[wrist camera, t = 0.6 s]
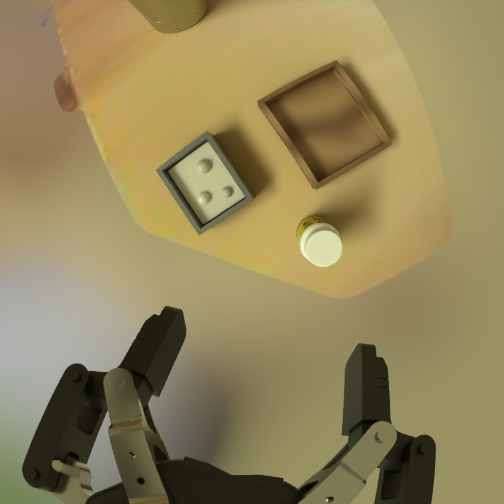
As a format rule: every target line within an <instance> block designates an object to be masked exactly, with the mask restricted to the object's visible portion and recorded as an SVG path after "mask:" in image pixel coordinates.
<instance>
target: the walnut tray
mask: <svg viewBox="0 0 504 504" xmlns="http://www.w3.org/2000/svg"><path fill="white" fill-rule="evenodd" d="M257 102H258V107H259V108H260V109H261V111H262V112H263V113H264V115H265V116H266V118H267V119H268V120H269V122H270V123H271V125H272V126H273V127H274V129H275V130H276V132H277V133H278V135H279V136H280V138H281V139H282V141H283V142H284V143H285V145H286V146H287V148H288V149H289V151H290V152H291V154H292V156H293V157H294V159H295V160H296V162H297V163H298V165H299V166H300V168H301V169H302V171H303V173H304V174H305V176H306V177H307V179H308V181H309V182H310V184H311V185H312V187H313V189H316V190H317V189H318V188H320V187H322V186H323V185H325V184H327V183H328V182H330V181H332V180H333V179H335V178H337V177H338V176H340V175H342V174H343V173H345V172H347V171H348V170H350V169H352V168H353V167H355V166H357V165H358V164H360V163H362V162H363V161H365V160H367V159H368V158H370V157H372V156H374V155H375V154H377V153H379V152H380V151H382V150H384V149H385V148H387V147H389V146H391V145H392V143H391V141H390V139H389V137H388V136H387V134H386V132H385V130H384V129H383V127H382V125H381V124H380V122H379V120H378V119H377V117H376V116H375V114H374V112H373V111H372V109H371V108H370V106H369V105H368V103H367V102H366V100H365V99H364V97H363V96H362V94H361V93H360V91H359V90H358V89H357V87H356V86H355V84H354V83H353V82H352V80H351V79H350V77H349V76H348V75H347V73H346V72H345V71H344V69H343V68H342V67H341V66H340V64H339V63H338V62H337V61H334V62H331V63H329V64H327V65H325V66H323V67H321V68H319V69H316V70H314V71H312V72H310V73H308V74H306V75H304V76H302V77H300V78H298V79H296V80H294V81H293V82H291V83H289V84H287V85H285V86H283V87H281V88H280V89H278V90H276V91H274V92H272V93H271V94H269V95H267V96H265V97H264V98H262V99H260V100H259V101H257Z"/></svg>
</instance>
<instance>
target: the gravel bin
mask: <svg viewBox="0 0 504 504" xmlns="http://www.w3.org/2000/svg"><path fill="white" fill-rule="evenodd" d="M156 171H157V173H158V174H159V176H160V177H161V179H162V180H163V182H164V183H165V185H166V186H167V188H168V190H169V191H170V193H171V194H172V196H173V197H174V199H175V200H176V202H177V203H178V205H179V206H180V208H181V209H182V211H183V212H184V214H185V215H186V217H187V218H188V220H189V221H190V223H191V224H192V226H193V227H194V229H195V230H196V232H197V233H198V234H199V235H201V234H202V233H204V232H205V231H207V230H208V229H210V228H211V227H213V226H214V225H215V224H217V223H218V222H220V221H222V220H223V219H225V218H226V217H228V216H229V215H231V214H232V213H234V212H235V211H237V210H238V209H240V208H241V207H243V206H244V205H246V204H247V203H249V202H251V201H252V200H254V198H255V196H254V194H253V193H252V191H251V190H250V188H249V187H248V185H247V184H246V182H245V181H244V179H243V178H242V176H241V175H240V173H239V172H238V170H237V169H236V167H235V166H234V164H233V163H232V161H231V160H230V158H229V157H228V156H227V154H226V153H225V151H224V150H223V148H222V147H221V145H220V144H219V142H218V141H217V140H216V138H215V137H214V135H212V134H211V133H209V132H208V131H207V132H205V133H204V134H203V135H201V136H200V137H198V138H197V139H196V140H194V141H193V142H191V143H190V144H189V145H187V146H186V147H185V148H183V149H182V150H181V151H179V152H178V153H177V154H175V155H174V156H173V157H172V158H170V159H169V160H168V161H166V162H165V163H164V164H163V165H161V166H160V167H159V168H158V169H156Z"/></svg>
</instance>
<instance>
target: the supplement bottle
mask: <svg viewBox="0 0 504 504" xmlns="http://www.w3.org/2000/svg"><path fill="white" fill-rule="evenodd" d="M296 236H297V240H298V243H299V246H300V249H301V252H302V253H303V255H304V256H305V257H306V258H307V259H308V260H309V261H311V262H312V263H313V264H314V265H317V266H320V267H327V266H330V265H332V264H334V263H335V262H337V260H338V259H339V258H340V256H341V254H342V248H343V247H342V242H341V237H340V234H339V232H338V231H337V229H336V228H335V227H334V226H332V225H331V224H330V223H329V222H328V221H327V220H325V219H324V218H322V217H320V216H309V217H306V218H305V219H303V220H302V221H301V222H300V223H299V225H298V227H297V231H296Z"/></svg>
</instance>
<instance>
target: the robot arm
mask: <svg viewBox="0 0 504 504" xmlns="http://www.w3.org/2000/svg"><path fill="white" fill-rule="evenodd" d="M128 1H129V2H130V3H131V4H132V5H133V6H134V7H135V8H136V9H137V10H138V11H139V12H140V13H141V14H142V15H143V17H144V18H145V19H146V20H147V21H148V22H149V23H150V24H151V25H152V26H153V27H154V28H155V29H156V30H158V31H160V32H163V33H174V32H179V31H182V30H185V29H187V28H189V27H191V26H193V25H194V24H196V23H197V22H198V21H199V20H200V19H201V18H202V17H203V16H204V15H205V13H206V11H207V7H208V4H207V0H128ZM185 337H186V325H185V320H184V316H183V311H182V310H181V309H177V308H173V307H169V306H165V307H164V309H163V310H162V312H161V314H160V316H159V315H156V314H154V315H152V316H151V317H150V318H149V319H147V320H146V321H145V323H144V324H143V326H142V328H141V329H140V332H139V333H138V335H137V336H136V339H135V340H134V341H133V343H132V345H131V347H130V348H129V350H128V352H127V354H126V356H125V357H124V359H123V361H122V363H121V364H120V365H119V367H117V368H115V369H113V370H110V371H109V372H97V371H88V370H87V369H86V367H85V366H83V365H82V364H72V365H70V366H69V367H68V368H67V369H66V370H65V372H64V374H63V376H62V378H61V379H60V381H59V383H58V385H57V387H56V389H55V391H54V393H53V395H52V397H51V399H50V401H49V403H48V405H47V408H46V410H45V412H44V414H43V416H42V419H41V421H40V423H39V425H38V428H37V430H36V432H35V435H34V437H33V440H32V442H31V444H30V447H29V450H28V453H27V455H26V458H25V460H24V463H23V467H22V472H23V476H24V478H25V480H26V481H27V482H28V484H29V485H31V486H32V487H35V488H38V489H41V490H44V491H46V492H50V493H52V494H53V495H55V496H56V497H58V498H59V499H61V500H62V501H64V502H65V503H67V504H349V503H350V502H351V501H352V500H353V499H354V498H355V497H356V496H357V495H358V494H359V493H360V492H361V490H362V489H363V488H364V487H365V485H366V480H367V478H368V477H369V476H370V475H371V473H372V472H373V471H374V470H375V469H376V467H377V468H380V473H379V480H378V487H377V492H376V497H375V503H374V504H431V501H432V493H433V484H434V474H435V457H436V456H435V455H436V445H435V442H434V440H433V439H432V438H431V437H430V436H428V435H420V436H418V437H416V438H415V437H412V436H409V435H405V434H402V433H400V432H398V431H397V430H396V429H395V428H394V426H393V425H392V423H391V419H390V395H389V380H388V368H387V365H386V363H385V361H384V359H383V358H381V357H377V356H376V347H375V345H369V344H361V343H359V344H358V345H357V346H356V348H355V349H354V351H353V353H352V354H351V356H350V358H349V359H348V361H347V364H346V368H345V387H344V389H345V390H344V408H343V423H342V435H346V436H349V439H348V443H346V445H345V446H344V447H343V448H342V449H341V450H340V451H339V452H338V453H337V454H336V455H335V456H334V457H333V458H332V459H331V460H330V461H329V462H328V463H327V464H326V465H325V466H324V467H323V468H322V469H321V470H320V471H318V472H317V473H315V474H314V475H313V476H312V477H311V478H309V479H308V480H307V481H306V482H305V483H303V484H302V485H301V486H300V487H299V488H298V489H297V488H296V487H294V486H293V485H291V484H289V483H287V482H285V481H283V478H279V477H271V476H264V475H230V474H228V473H226V472H224V471H222V470H220V469H218V468H216V467H214V466H212V465H211V464H209V463H205V462H202V461H198V460H195V459H192V458H189V457H186V456H185V458H184V459H170V457H169V454H168V452H167V449H166V447H165V445H164V442H163V440H162V439H161V437H160V434H159V432H158V429H157V426H156V423H155V420H154V416H153V413H152V410H151V406H150V403H149V400H150V398H151V396H152V395H154V396H157V397H159V396H160V394H161V391H162V389H163V387H164V385H165V382H166V380H167V378H168V376H169V373H170V371H171V369H172V367H173V364H174V362H175V360H176V358H177V356H178V354H179V351H180V349H181V347H182V345H183V343H184V340H185ZM107 411H108V412H109V417H110V421H111V426H110V427H109V429H108V433H109V438H110V441H111V445H112V449H113V453H114V456H115V460H116V463H117V467H118V470H119V473H120V476H121V479H122V482H120V483H118V484H115V485H113V486H111V487H109V488H107V489H104V490H102V491H99V492H97V493H94V491H93V490H92V487H91V472H90V470H89V468H88V466H86V464H87V462H88V459H89V456H90V453H91V451H92V448H93V445H94V442H95V440H96V437H97V435H98V432H99V430H100V427H101V425H102V422H103V420H104V418H105V415H106V413H107ZM134 457H135V458H134ZM327 501H328V502H327Z"/></svg>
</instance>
